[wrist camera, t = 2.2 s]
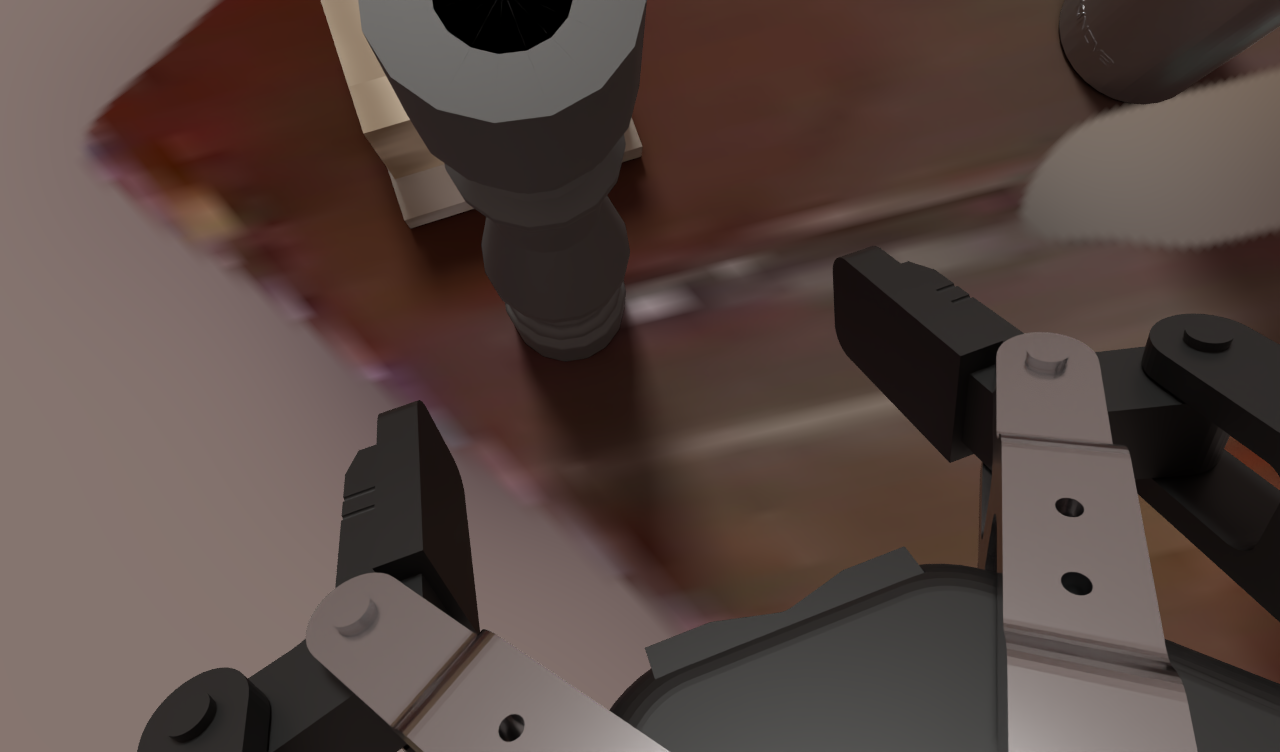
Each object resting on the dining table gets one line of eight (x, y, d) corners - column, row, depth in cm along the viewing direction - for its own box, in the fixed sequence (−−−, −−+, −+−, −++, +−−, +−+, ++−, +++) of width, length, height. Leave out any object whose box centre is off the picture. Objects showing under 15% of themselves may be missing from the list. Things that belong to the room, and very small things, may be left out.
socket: (541, -110, 42) (530, -210, 36) (641, 156, 40) (648, 97, 34) (320, -50, 41) (270, -144, 35) (410, 228, 39) (374, 180, 32)
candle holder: (647, 309, 39) (724, 1, 14) (564, 384, 38) (488, 200, 13) (571, 230, 39) (515, -205, 14) (487, 303, 38) (274, -26, 13)
